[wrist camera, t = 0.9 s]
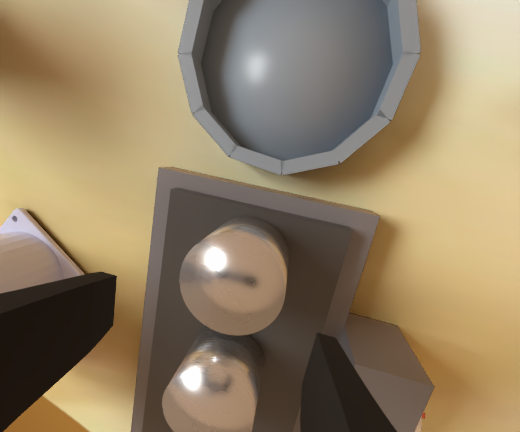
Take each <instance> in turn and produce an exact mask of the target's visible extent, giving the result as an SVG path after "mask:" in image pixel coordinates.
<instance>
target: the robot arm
mask: <svg viewBox="0 0 520 432" xmlns="http://www.w3.org/2000/svg"><path fill="white" fill-rule="evenodd" d="M116 278H117V276H115V275H111V274H107V273H104V272H97V273H90V274H84V273H83V272H82V271H81V270H80V268H79V267H78V266H77V265H76V264H75V263H74V262H73V261H72V260H71V259H70V258H69V257H68V255H67V254H66V253H65V252H64V251H63V250H62V249H61V248H60V247H59V246H58V245H57V244H56V243H55V241H54V240H53V239H52V238H51V237H50V236H49V235H48V234H47V233H46V232H45V231H44V230H43V228H42V227H41V226H40V225H39V224H38V223H37V222H36V221H35V220H34V219H33V218H32V217H31V215H30V214H29V213H28V212H27V211H26V210H25V209H23V208H19V209H15V210H14V211H13V212H12V213H11V215H10V216H9V217H8V219H7V220H6V221H5V222H4V224H3V225H2V226H1V227H0V432H3V431H4V430H5V429H6V428H7V427H8V426H9V425H10V424H11V423H12V422H13V421H15V420H16V419H17V418H18V417H19V416H20V415H21V414H22V413H23V412H24V411H25V410H27V409H28V408H29V407H30V406H31V405H32V404H33V403H34V402H35V401H37V400H38V399H39V398H40V397H41V396H42V395H43V394H44V393H45V392H46V391H48V390H49V389H50V388H51V387H52V386H53V385H54V384H55V383H56V382H58V381H59V380H60V379H61V378H62V377H63V376H64V375H65V374H66V373H67V372H69V371H70V370H71V369H72V368H73V367H74V366H75V365H76V364H77V363H78V362H79V361H80V360H82V359H83V358H84V357H85V356H86V355H87V354H88V353H89V352H90V351H91V350H92V349H93V348H94V347H95V346H96V344H97V343H98V342H99V341H100V340H101V339H102V338H103V337H104V335H105V334H106V333H107V332H108V331H109V330H110V328H111V327H112V326H113V319H114V305H115V292H116ZM300 430H301V432H397V431H396V429H395V428H394V427H393V425H392V424H391V422H390V421H389V420H388V418H387V417H386V415H385V414H384V413H383V411H382V410H381V408H380V407H379V405H378V404H377V402H376V401H375V399H374V398H373V396H372V395H371V393H370V392H369V390H368V389H367V387H366V386H365V384H364V382H363V381H362V379H361V378H360V376H359V375H358V373H357V371H356V370H355V368H354V366H353V365H352V363H351V362H350V360H349V358H348V357H347V355H346V353H345V352H344V350H343V348H342V347H341V345H340V343H339V342H338V340H337V339H336V338H335V337H332V336H328V335H324V334H321V333H317V334H316V338H315V341H314V344H313V348H312V351H311V355H310V358H309V361H308V365H307V368H306V372H305V375H304V379H303V382H302V393H301V411H300Z"/></svg>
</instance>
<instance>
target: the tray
mask: <svg viewBox="0 0 520 432" xmlns="http://www.w3.org/2000/svg"><path fill="white" fill-rule="evenodd" d="M420 52H421V49H420V37H419V25H418V13H417V1H416V0H189V3H188V8H187V12H186V17H185V22H184V26H183V31H182V35H181V40H180V45H179V49H178V53H179V55H178V58H179V62H180V67H181V71H182V75H183V80H184V84H185V88H186V92H187V97H188V101H189V105H190V109H191V113H192V114H193V116H194V118H195V119H196V120H197V121H198V122H199V123H200V125H201V126H202V127H203V128H204V129H205V130H206V132H207V133H208V134H209V135H210V136H211V137H212V138H213V140H214V141H215V142H216V143H217V144H218V145H219V147H220V148H221V149H222V150H223V151H224V152H225V154H226V155H227V156H228V157H230V158H232V159H235V160H238V161H241V162H244V163H246V164H249V165H252V166H255V167H258V168H261V169H264V170H267V171H270V172H272V173H275V174H278V175H287V174H292V173H297V172H302V171H307V170H312V169H317V168H322V167H327V166H332V165H337V164H339V163H342V162H343V161H344V160H345V159H346V158H348V157H349V156H350V155H351V154H353V153H354V152H355V151H356V150H357V149H359V148H360V147H361V146H362V145H363V144H365V143H366V142H367V141H368V140H369V139H371V138H372V137H373V136H374V135H375V134H377V133H378V132H379V131H380V130H382V129H383V128H384V127H385V126H386V125H388V124H389V123H390V121H391V120H392V119H393V117H394V114H395V112H396V110H397V107H398V105H399V103H400V100H401V98H402V96H403V94H404V91H405V89H406V87H407V84H408V82H409V80H410V77H411V75H412V73H413V71H414V68H415V66H416V64H417V61H418V59H419V57H420V55H419V53H420Z"/></svg>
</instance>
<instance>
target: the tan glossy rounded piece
mask: <svg viewBox="0 0 520 432" xmlns="http://www.w3.org/2000/svg"><path fill="white" fill-rule="evenodd" d="M288 267H289V250H288V246H287V243H286V241H285V239H284V237H283V235H282V234H281V233H280V231H279V230H278V229H277V228H276V227H274V226H273V225H272V224H271V223H269V222H267V221H265V220H263V219H260V218H257V217H252V216H242V217H236V218H233V219H231V220H229V221H227V222H225V223H224V224H222V225H221V226H220V227H219V228H217V229H216V230H215V231H213V232H212V233H211V234H209V235H208V236H207V237H205V238H204V239H203V240H201V241H200V242H199V243H198V244H196V245H195V246H194V247H193V248H192V249H191V250H190V251H189V252H188V254H187V255H186V257H185V259H184V261H183V263H182V266H181V270H180V277H179V282H180V290H181V294H182V297H183V300H184V302H185V304H186V306H187V307H188V309H189V310H190V312H191V313H192V314H193V315H194V316H195V317H196V318H197V319H198V320H199V321H200V322H201V323H203V324H204V325H205V326H207V327H209V328H210V329H212V330H214V331H217V332H220V333H223V334H227V335H235V336H237V335H249V334H252V333H256V332H258V331H260V330H262V329H264V328H266V327H267V326H268V325H270V324H271V323H272V322H273V321H274V320H275V319H276V317H277V316H278V314H279V313H280V311H281V309H282V307H283V303H284V300H285V293H286V284H287V276H288Z"/></svg>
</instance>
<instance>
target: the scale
mask: <svg viewBox="0 0 520 432" xmlns="http://www.w3.org/2000/svg"><path fill="white" fill-rule="evenodd" d="M242 216H252V217H257V218H260V219H263V220H265V221H267V222H269V223H271V224H272V225H273V226H274V227H276V228H277V229H278V230H279V231H280V233H281V234H282V235H283V237H284V239H285V241H286V243H287V246H288V250H289V267H288V276H287V284H286V293H285V300H284V303H283V307H282V309H281V311H280V313H279V314H278V316H277V317H276V319H275V320H274V321H273V322H272V323H271V324H270V325H268V326H267V327H266V328H264V329H262V330H260V331H258V332H256V333H252V334H250V335H251V336H252V337H253V338H255V340H256V341H257V342H258V344H259V345H260V347H261V349H262V352H263V356H264V367H263V373H262V378H261V384H260V389H259V395H258V400H257V406H256V411H255V416H254V422H253V427H252V431H251V432H301V430H300V411H301V393H302V382H303V379H304V375H305V372H306V368H307V365H308V361H309V358H310V355H311V351H312V348H313V344H314V341H315V338H316V334H317V333H321V334H324V335H328V336H332V337H335V338H336V339H337V340H338V342H339V343H340V345H341V347H342V348H343V350H344V352H345V353H346V355H347V357H348V358H349V360H350V362H351V363H352V365H353V366H354V368H355V370H356V371H357V373H358V375H359V376H360V378H361V379H362V381H363V382H364V384H365V386H366V387H367V389H368V390H369V392H370V393H371V395H372V396H373V398H374V399H375V401H376V402H377V404H378V405H379V407H380V408H381V410H382V411H383V413H384V414H385V415H386V417H387V418H388V420H389V421H390V422H391V424H392V425H393V427H394V428H395V429H396V431H397V432H421V427H422V418H425V413H423V412H424V409H425V407H426V405H427V403H428V400H429V398H430V396H431V394H432V391H433V389H434V385H433V384H432V382H431V380H430V379H429V377H428V375H427V374H426V372H425V370H424V369H423V367H422V365H421V364H420V362H419V361H418V359H417V357H416V356H415V354H414V352H413V351H412V349H411V347H410V346H409V344H408V342H407V341H406V339H405V337H404V336H403V334H402V332H401V331H400V329H399V327H398V326H396V325H393V324H389V323H385V322H381V321H378V320H374V319H370V318H366V317H363V316H359V315H355V314H351V313H349V311H350V308H351V305H352V302H353V299H354V296H355V293H356V290H357V286H358V283H359V280H360V277H361V274H362V271H363V268H364V265H365V261H366V258H367V255H368V252H369V249H370V246H371V243H372V240H373V236H374V233H375V230H376V227H377V224H378V221H379V218H380V216H379V215H377V214H375V213H374V212H372V211H369V210H365V209H360V208H356V207H351V206H347V205H342V204H338V203H333V202H328V201H324V200H319V199H315V198H310V197H306V196H301V195H297V194H292V193H288V192H283V191H278V190H274V189H269V188H265V187H260V186H256V185H251V184H247V183H242V182H238V181H233V180H228V179H224V178H219V177H215V176H210V175H206V174H201V173H197V172H192V171H188V170H183V169H178V168H174V167H159V169H158V178H157V188H156V197H155V207H154V217H153V226H152V236H151V245H150V255H149V264H148V274H147V283H146V293H145V302H144V312H143V321H142V331H141V340H140V350H139V359H138V369H137V378H136V388H135V397H134V407H133V416H132V426H131V432H174V431H173V430H172V429H171V428H170V426H169V425H168V423H167V421H166V419H165V416H164V413H163V409H162V398H163V394H164V392H165V389H166V388H167V386H168V384H169V383H170V381H171V379H172V378H173V376H174V374H175V373H176V371H177V370H178V368H179V366H180V365H181V363H182V361H183V360H184V358H185V356H186V355H187V353H188V351H189V350H190V348H191V346H192V345H193V343H194V341H195V340H196V338H197V336H198V335H199V334H200V333H201V332H202V331H203V330H205V329H206V328H208V327H207V326H205V325H204V324H203V323H201V322H200V321H199V320H198V319H197V318H196V317H195V316H194V315H193V314H192V313H191V312H190V310H189V309H188V307H187V306H186V304H185V302H184V300H183V297H182V294H181V290H180V282H179V277H180V270H181V266H182V263H183V261H184V259H185V257H186V255H187V254H188V252H189V251H190V250H191V249H192V248H193V247H194V246H195V245H196V244H198V243H199V242H200V241H201V240H203V239H204V238H205V237H207V236H208V235H209V234H211V233H212V232H213V231H215V230H216V229H217V228H219V227H220V226H221V225H222V224H224V223H225V222H227V221H229V220H231V219H233V218H236V217H242Z"/></svg>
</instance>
